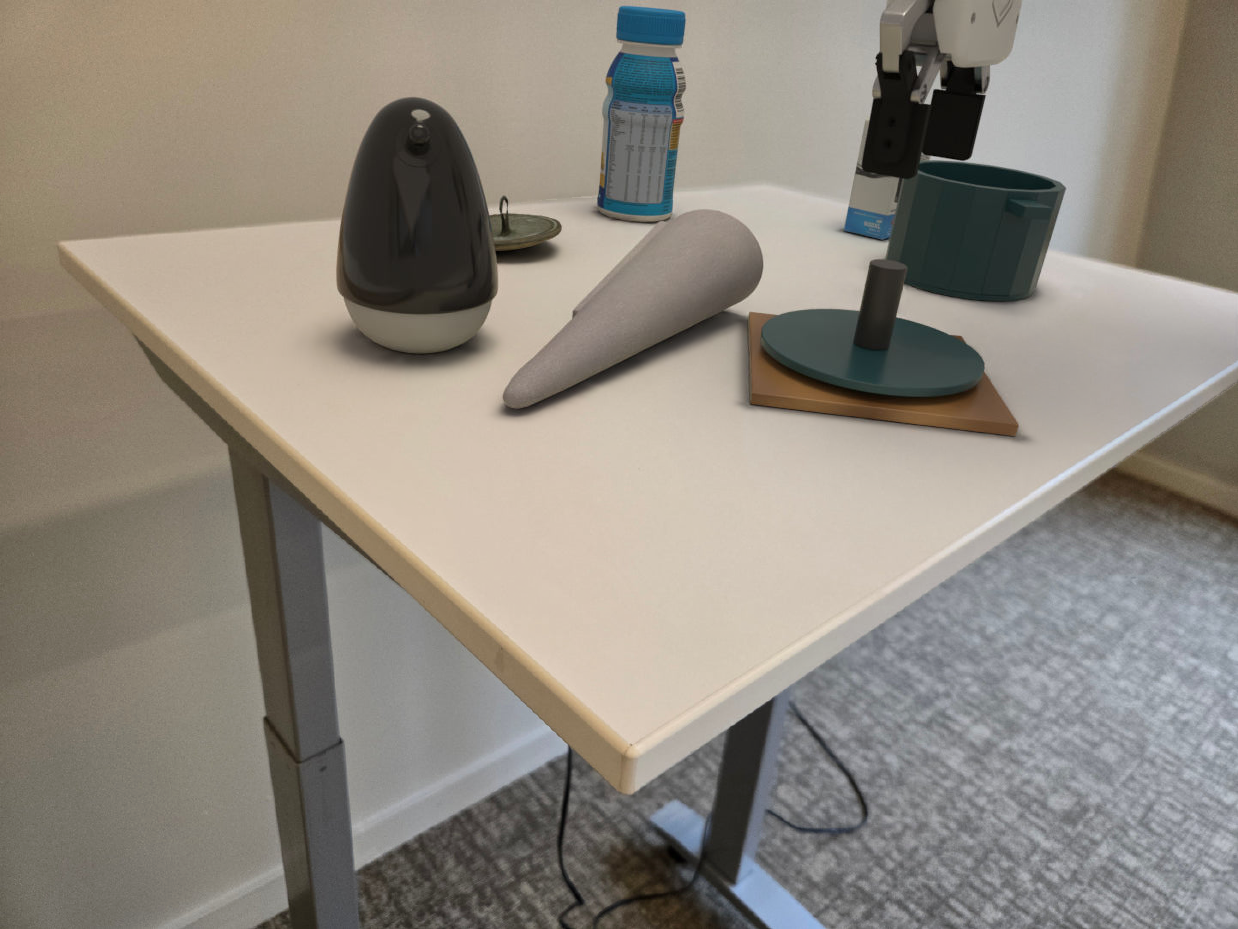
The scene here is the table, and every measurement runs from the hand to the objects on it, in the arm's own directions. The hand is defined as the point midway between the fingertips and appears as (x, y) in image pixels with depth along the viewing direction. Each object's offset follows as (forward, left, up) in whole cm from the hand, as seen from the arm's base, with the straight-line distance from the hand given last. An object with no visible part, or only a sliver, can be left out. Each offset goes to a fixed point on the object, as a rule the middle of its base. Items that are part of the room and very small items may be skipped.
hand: (918, 165), depth 57 cm
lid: (+30, -21, -14) cm, 39 cm away
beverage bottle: (+20, -40, -14) cm, 47 cm away
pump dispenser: (+30, +4, -14) cm, 34 cm away
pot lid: (0, 0, -12) cm, 12 cm away
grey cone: (+15, +2, -14) cm, 21 cm away
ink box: (-7, -45, -14) cm, 47 cm away
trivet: (0, 0, -14) cm, 14 cm away
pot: (-12, -28, -14) cm, 33 cm away
